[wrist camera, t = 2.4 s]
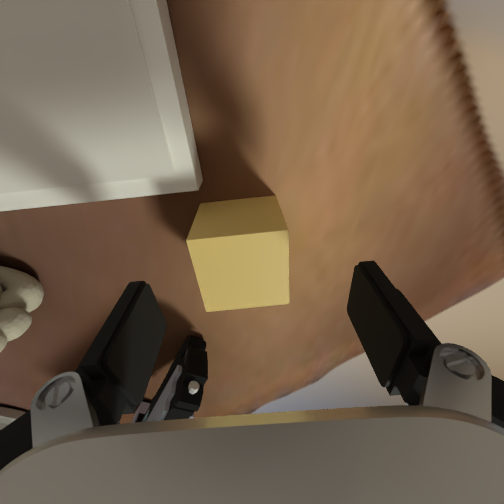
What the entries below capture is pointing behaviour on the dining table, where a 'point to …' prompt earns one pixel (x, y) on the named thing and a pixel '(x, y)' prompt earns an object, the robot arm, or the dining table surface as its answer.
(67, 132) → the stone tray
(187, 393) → the toy gun
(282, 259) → the mustard cube
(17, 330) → the decorative object
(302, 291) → the dining table surface
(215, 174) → the dining table surface
